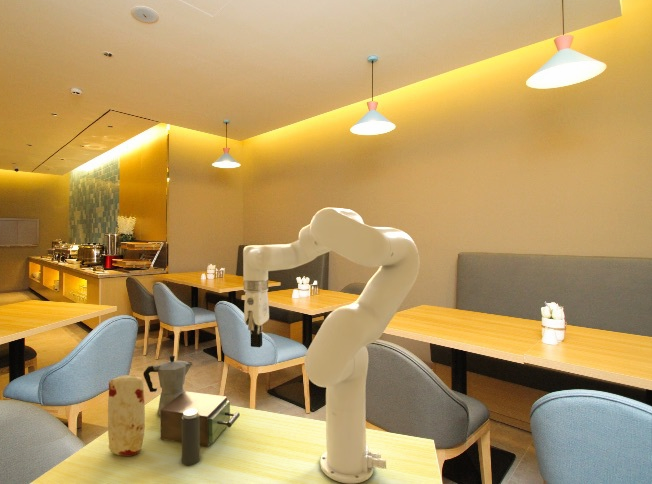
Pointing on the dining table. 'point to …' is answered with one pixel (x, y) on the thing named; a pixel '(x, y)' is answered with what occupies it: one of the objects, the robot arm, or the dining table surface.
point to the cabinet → (185, 401)
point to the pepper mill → (190, 437)
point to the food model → (126, 415)
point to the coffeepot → (168, 379)
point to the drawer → (221, 420)
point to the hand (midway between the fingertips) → (256, 346)
